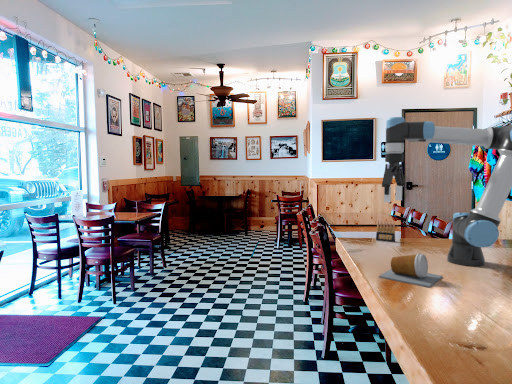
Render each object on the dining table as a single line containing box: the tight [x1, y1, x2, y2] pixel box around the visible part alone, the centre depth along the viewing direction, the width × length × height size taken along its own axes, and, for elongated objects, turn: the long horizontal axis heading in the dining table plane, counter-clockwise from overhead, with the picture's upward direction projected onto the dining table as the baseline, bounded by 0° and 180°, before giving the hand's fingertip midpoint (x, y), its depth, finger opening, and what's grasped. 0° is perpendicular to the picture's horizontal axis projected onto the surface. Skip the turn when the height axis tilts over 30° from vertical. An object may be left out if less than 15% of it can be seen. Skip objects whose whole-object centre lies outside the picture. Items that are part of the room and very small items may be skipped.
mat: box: [378, 269, 443, 288], centre depth 148 cm, size 17×19×1 cm
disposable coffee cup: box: [390, 253, 429, 278], centre depth 148 cm, size 10×10×12 cm
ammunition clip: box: [375, 220, 396, 243], centre depth 220 cm, size 11×2×12 cm, turn 62°
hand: (393, 201), depth 165 cm, fingers open, 13 cm apart
